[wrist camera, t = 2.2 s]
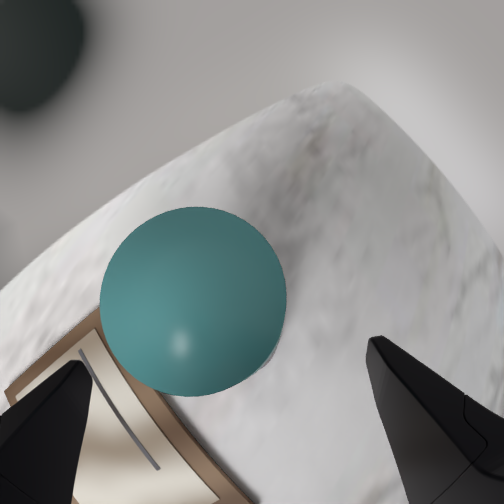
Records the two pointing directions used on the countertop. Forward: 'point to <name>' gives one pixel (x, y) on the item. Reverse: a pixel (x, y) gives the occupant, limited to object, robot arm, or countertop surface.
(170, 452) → the clipboard
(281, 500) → the countertop surface
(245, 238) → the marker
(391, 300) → the countertop surface
